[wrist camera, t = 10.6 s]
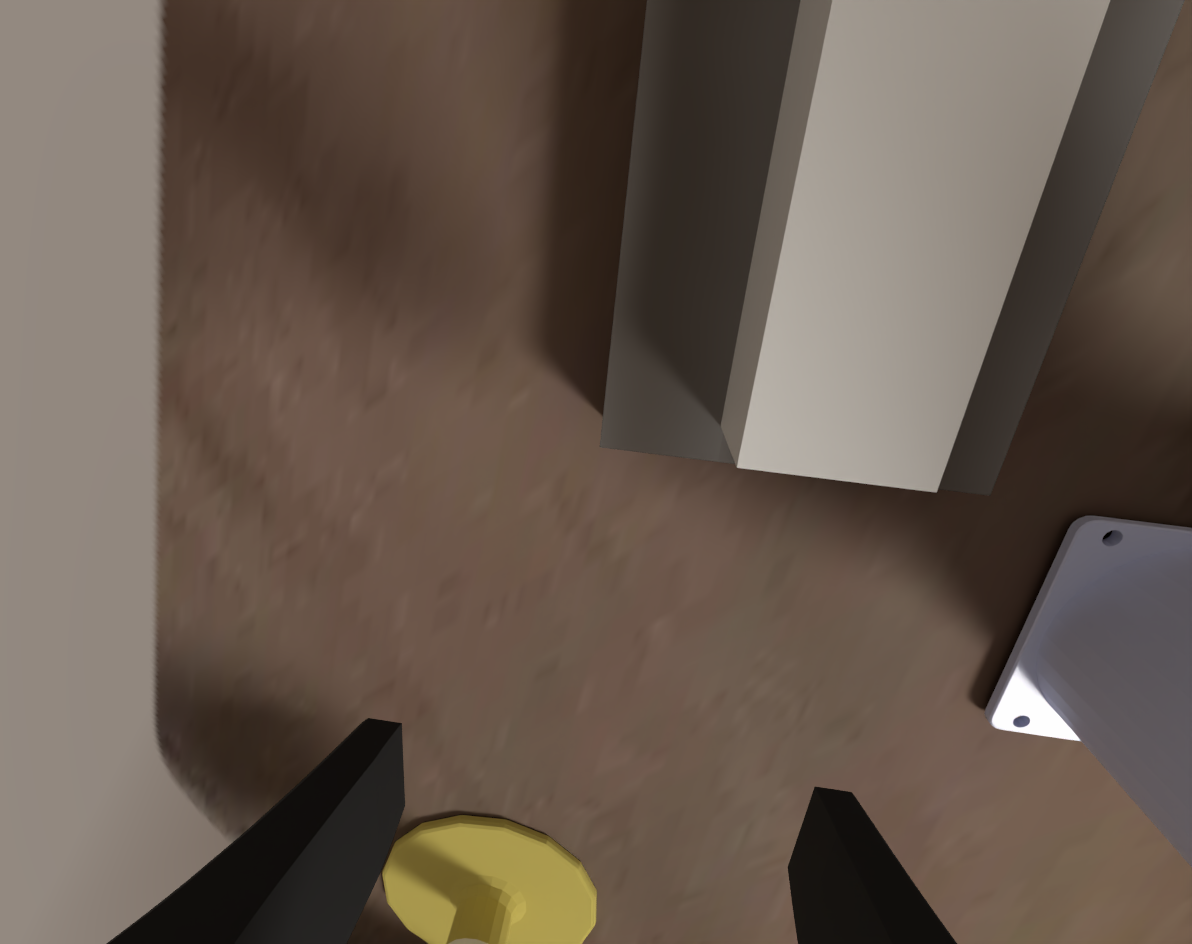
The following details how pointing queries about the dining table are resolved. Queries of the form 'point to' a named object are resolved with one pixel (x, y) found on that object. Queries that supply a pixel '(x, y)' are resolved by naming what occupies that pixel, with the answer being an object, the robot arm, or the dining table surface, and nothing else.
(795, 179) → the cream rectangular block
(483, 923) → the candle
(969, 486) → the socket board
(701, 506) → the dining table surface
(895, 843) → the dining table surface
